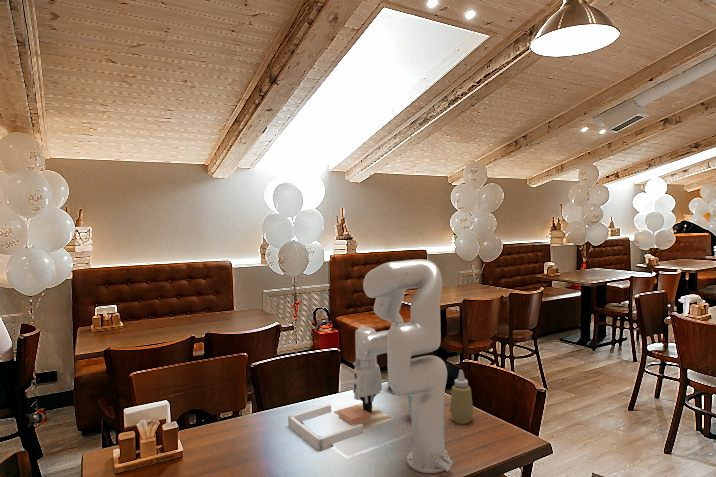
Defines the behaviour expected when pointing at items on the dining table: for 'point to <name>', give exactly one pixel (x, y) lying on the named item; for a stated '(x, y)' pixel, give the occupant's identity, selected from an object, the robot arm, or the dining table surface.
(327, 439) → the box
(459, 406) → the squeeze bottle
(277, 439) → the dining table surface
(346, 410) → the tile
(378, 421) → the beige square board
